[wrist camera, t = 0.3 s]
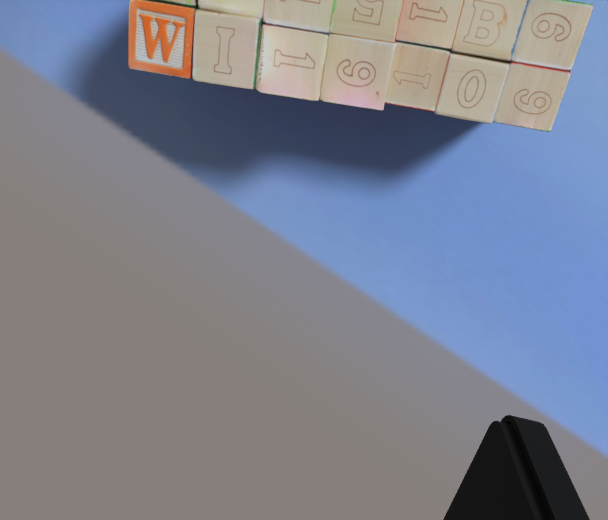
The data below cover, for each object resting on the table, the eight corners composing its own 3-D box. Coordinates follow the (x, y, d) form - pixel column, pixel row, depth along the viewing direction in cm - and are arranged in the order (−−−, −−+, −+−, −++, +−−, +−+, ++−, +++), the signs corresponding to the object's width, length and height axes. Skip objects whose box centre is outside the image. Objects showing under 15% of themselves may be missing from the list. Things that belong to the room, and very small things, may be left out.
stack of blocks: (536, 8, 34) (628, 3, 22) (504, 109, 36) (573, 150, 25) (200, -53, 34) (126, -87, 22) (193, 52, 36) (123, 68, 25)
